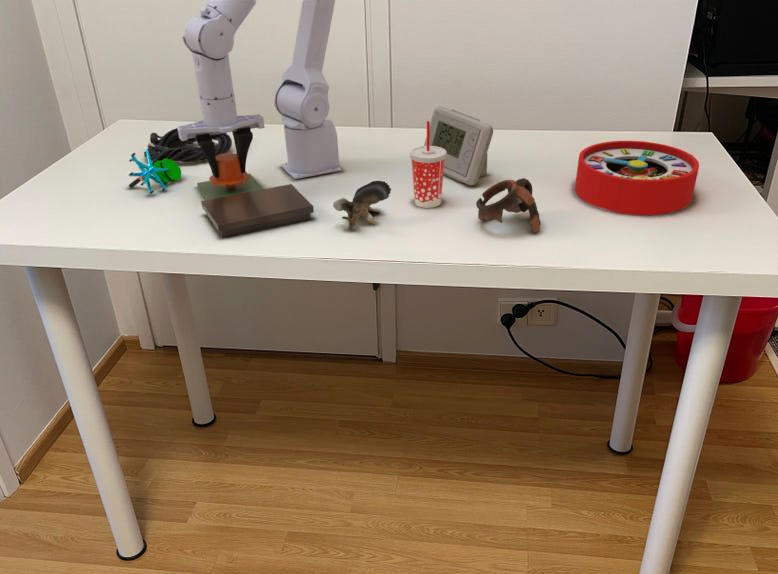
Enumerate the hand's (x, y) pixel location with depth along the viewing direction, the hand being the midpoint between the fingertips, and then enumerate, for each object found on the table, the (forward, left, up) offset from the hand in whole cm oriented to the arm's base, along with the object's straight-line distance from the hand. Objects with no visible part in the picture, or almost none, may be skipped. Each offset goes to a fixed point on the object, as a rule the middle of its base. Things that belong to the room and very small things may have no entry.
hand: (228, 173), depth 132 cm
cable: (+2, -24, -4) cm, 24 cm away
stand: (-1, +13, -3) cm, 14 cm away
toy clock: (-63, +34, -4) cm, 72 cm away
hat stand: (0, 0, -3) cm, 3 cm away
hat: (0, 0, -1) cm, 1 cm away
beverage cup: (-29, +21, -4) cm, 36 cm away
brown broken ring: (-37, +35, -4) cm, 51 cm away
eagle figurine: (-16, +23, -4) cm, 28 cm away
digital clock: (-40, +11, -4) cm, 42 cm away
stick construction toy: (+12, -10, -4) cm, 16 cm away
